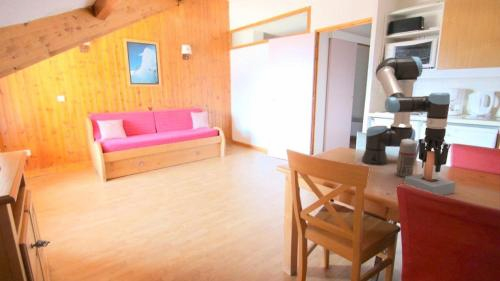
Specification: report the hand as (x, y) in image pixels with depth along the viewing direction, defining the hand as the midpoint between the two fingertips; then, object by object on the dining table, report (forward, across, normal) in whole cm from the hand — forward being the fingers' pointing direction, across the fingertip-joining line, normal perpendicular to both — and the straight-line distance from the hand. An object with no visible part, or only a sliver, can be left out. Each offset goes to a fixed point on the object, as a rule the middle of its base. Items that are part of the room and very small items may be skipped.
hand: (429, 176), depth 120 cm
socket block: (+6, 0, 0) cm, 6 cm away
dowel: (+4, 0, 0) cm, 4 cm away
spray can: (+7, -19, +7) cm, 21 cm away
